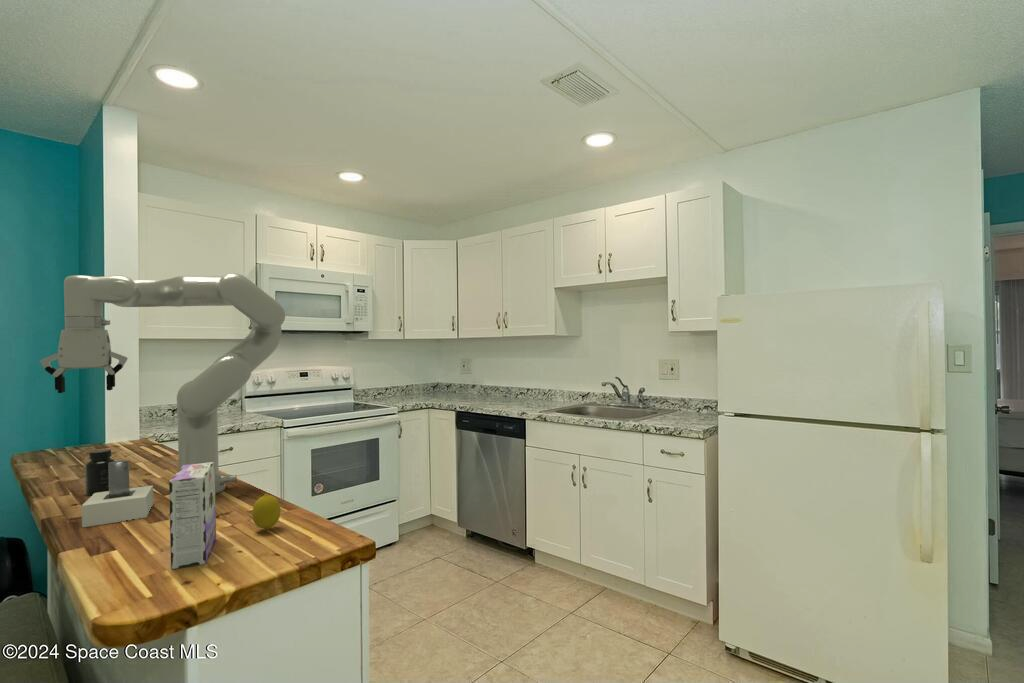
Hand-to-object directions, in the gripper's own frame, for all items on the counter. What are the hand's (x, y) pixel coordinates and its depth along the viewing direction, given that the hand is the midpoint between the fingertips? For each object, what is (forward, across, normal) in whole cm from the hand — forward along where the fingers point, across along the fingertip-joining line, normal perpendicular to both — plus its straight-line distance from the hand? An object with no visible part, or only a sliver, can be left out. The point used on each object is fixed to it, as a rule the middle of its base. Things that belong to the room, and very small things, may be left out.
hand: (86, 391), depth 129 cm
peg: (+29, -8, +10) cm, 32 cm away
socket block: (+30, -8, +10) cm, 33 cm away
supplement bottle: (+31, +1, -19) cm, 36 cm away
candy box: (+31, -26, +48) cm, 63 cm away
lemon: (+31, -39, +42) cm, 65 cm away
